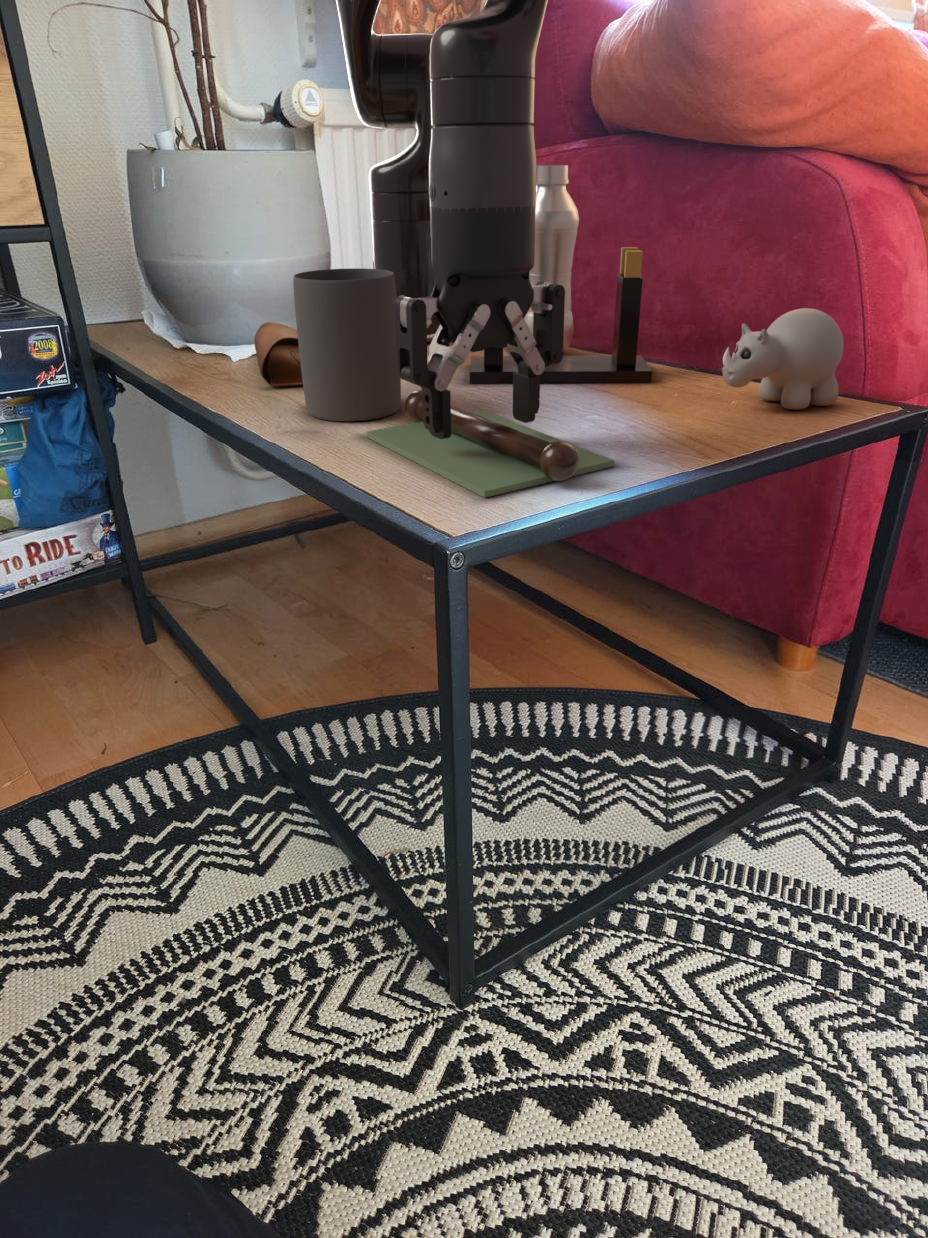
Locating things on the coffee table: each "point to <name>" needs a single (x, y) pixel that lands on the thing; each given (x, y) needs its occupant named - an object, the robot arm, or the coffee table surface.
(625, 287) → the rack
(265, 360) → the sunglasses case
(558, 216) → the silver metal bottle
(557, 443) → the knobbed wooden handle
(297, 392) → the coffee table surface
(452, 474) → the mat
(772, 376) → the toy rhinoceros
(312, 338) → the mug
